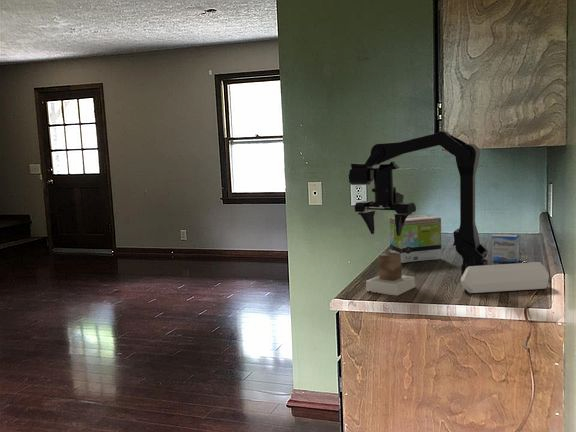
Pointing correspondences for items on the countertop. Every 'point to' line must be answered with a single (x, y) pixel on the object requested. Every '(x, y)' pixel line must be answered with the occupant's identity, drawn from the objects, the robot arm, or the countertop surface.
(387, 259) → the walnut block
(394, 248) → the tea box
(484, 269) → the crystal
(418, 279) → the countertop surface
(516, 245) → the medicine box
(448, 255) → the countertop surface
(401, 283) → the base slab
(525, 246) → the countertop surface
